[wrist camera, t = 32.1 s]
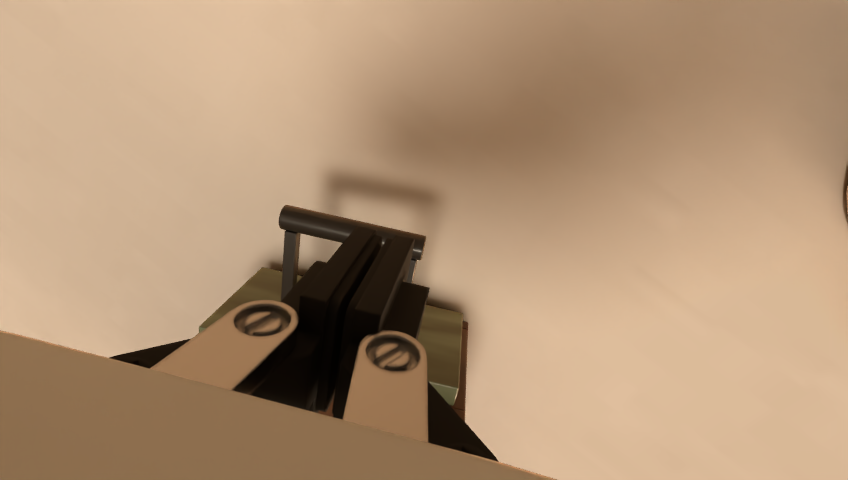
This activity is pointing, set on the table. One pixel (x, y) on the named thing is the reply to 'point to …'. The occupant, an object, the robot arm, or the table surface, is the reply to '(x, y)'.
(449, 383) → the drawer
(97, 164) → the table surface
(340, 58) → the table surface
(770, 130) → the table surface
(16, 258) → the table surface
